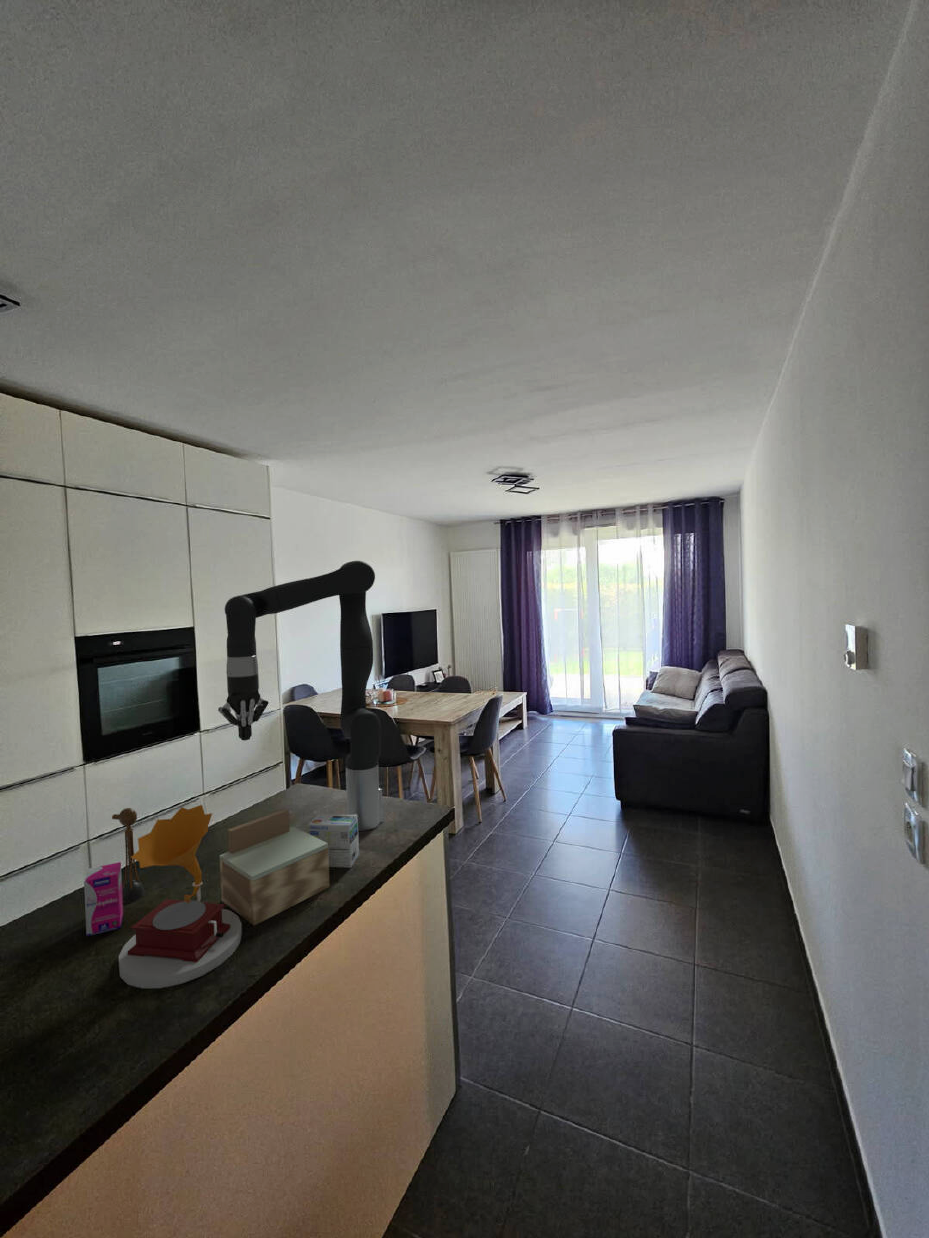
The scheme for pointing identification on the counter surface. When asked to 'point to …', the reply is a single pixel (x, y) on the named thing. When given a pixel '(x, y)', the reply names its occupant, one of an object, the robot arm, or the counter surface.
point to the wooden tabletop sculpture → (133, 887)
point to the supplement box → (103, 898)
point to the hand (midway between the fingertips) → (245, 739)
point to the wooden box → (274, 887)
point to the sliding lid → (268, 845)
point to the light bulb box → (337, 837)
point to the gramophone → (178, 913)
